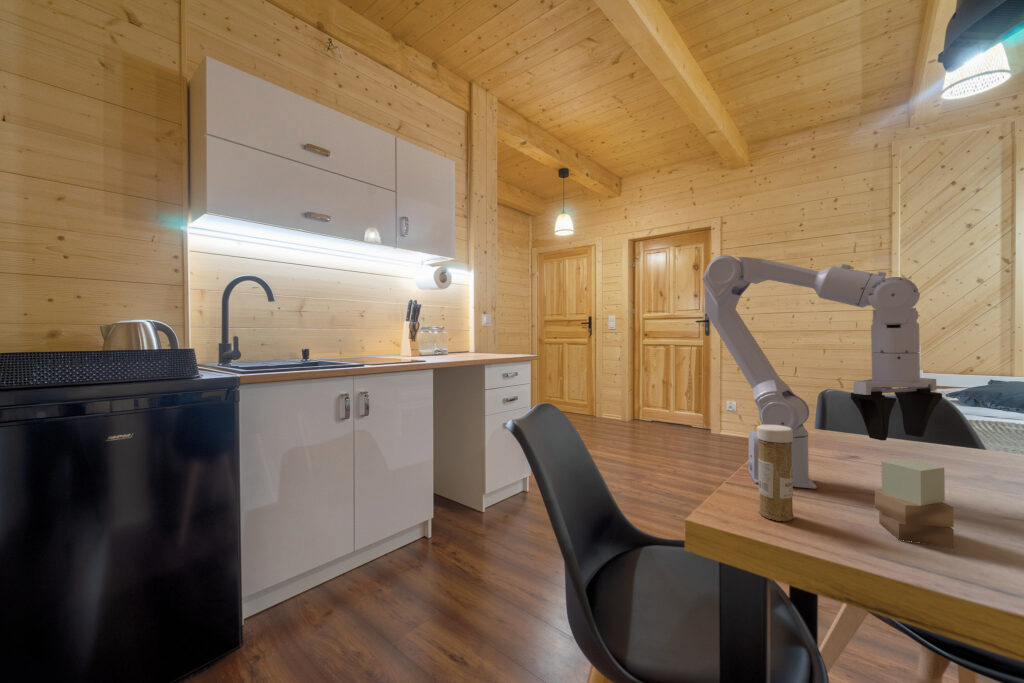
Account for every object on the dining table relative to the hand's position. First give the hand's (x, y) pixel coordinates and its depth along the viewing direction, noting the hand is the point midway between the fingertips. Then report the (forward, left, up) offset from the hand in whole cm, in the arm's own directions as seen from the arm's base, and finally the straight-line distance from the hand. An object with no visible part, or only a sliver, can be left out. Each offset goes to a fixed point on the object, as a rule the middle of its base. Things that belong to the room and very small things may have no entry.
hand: (896, 437), depth 68 cm
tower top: (-3, -13, -8) cm, 16 cm away
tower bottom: (-3, -13, -11) cm, 17 cm away
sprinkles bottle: (-19, -12, -11) cm, 25 cm away
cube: (-3, -13, -6) cm, 14 cm away
